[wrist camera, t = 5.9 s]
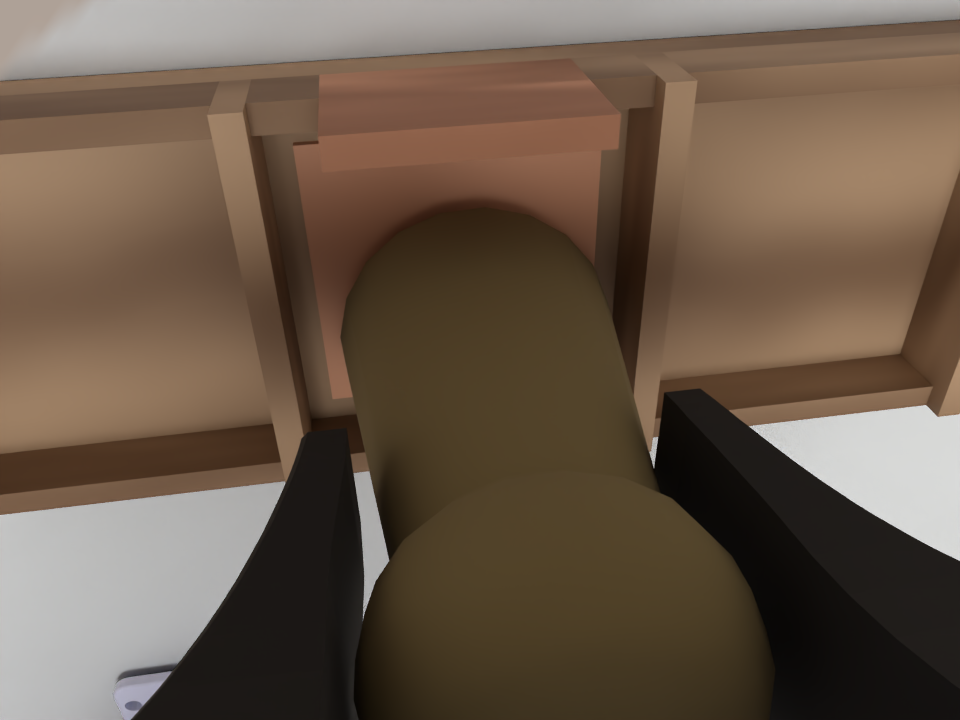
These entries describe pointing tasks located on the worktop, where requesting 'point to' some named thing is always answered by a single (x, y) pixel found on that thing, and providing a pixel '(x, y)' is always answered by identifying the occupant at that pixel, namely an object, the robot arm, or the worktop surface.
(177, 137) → the spice rack
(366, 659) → the olive bulbous cylinder
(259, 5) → the worktop surface
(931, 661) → the robot arm
